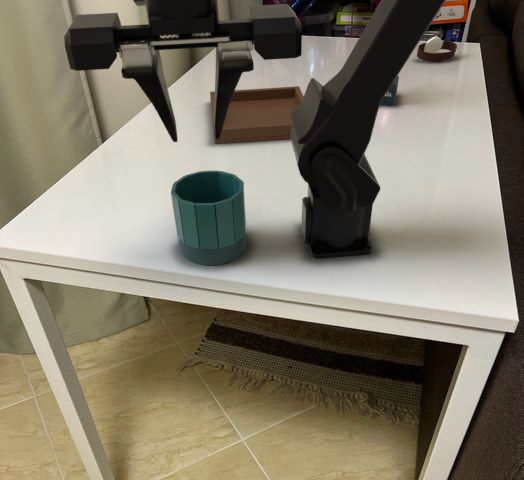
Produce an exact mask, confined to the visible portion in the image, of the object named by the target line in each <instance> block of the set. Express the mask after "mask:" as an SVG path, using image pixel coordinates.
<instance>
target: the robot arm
mask: <svg viewBox="0 0 524 480" xmlns="http://www.w3.org/2000/svg"><path fill="white" fill-rule="evenodd" d="M132 1H133V2H134V4H135V5H136V6H137V7H142V6H145V10H146V16H147V24H129V25H127V24H126V25H122V23H121V19H120V16H119V13H118V12H105V13H87V14H85V13H84V14H76V16H75V17H74V18H73V20H72V22H71V23H70V25H69V27H68V29H67V31H66V32H65V34H64V36H63V41H64V49H65V53H66V58H67V61H68V65H69V69H70V70H72V71H75V72H81V71H97V70H99V71H100V70H109V69H110V68H111V67H112V65H113V64H114V62H115V61H116V60H117V58H118V55H119V58H120V59H121V64H122V67H121V70H120V72H121V78H122V79H125V80H134V81H135V82H136V84H137V85H138V86H139V87H140V89H141V90H142V92H143V93H144V95H145V96H146V97H147V99H148V100H149V102H150V103H151V104H152V106H153V108H154V110H155V111H156V113H157V115H158V117H159V118H160V120H161V123H162V124H163V126H164V128H165V130H166V131H167V134H168V135H169V137H170V139H171V141H172V142H173V143H178V141H179V138H178V130H177V122H176V117H175V113H174V109H173V105H172V101H171V97H170V93H169V90H168V85H167V81H166V78H165V77H166V76H165V73H164V68H163V63H162V57H161V52H160V51H171V50H185V49H203V48H204V49H205V48H215V78H214V79H215V80H214V91H215V100H214V128H215V139H220V136H221V133H222V129H223V125H224V122H225V118H226V114H227V111H228V107H229V104H230V101H231V98H232V96H233V93H234V91H235V90H237V89H236V88H237V87H238V84H239V82H240V79H241V77H242V74H244V73H248V72H253V71H254V70H255V63H254V59H253V56H252V51H255V52H256V53H257V54H258V55H259V56H260V57H261V58H262V59H263V60H264V61H268V60H271V61H272V60H286V59H287V60H288V59H297V58H299V57H302V48H303V46H302V45H303V31H302V22H301V20H300V19H299V18H298V16H297V14H296V12H295V11H294V10H293V9H292V8H291V6H290V5H289V4H288V3H277V4H275V3H274V4H260V5H259V4H257V5H247V18H239V19H222V20H221V19H219V18H220V17H219V16H220V15H219V1H218V0H132ZM446 1H447V0H380V1H379V3H378V4H377V7H376V8H375V10H374V12H373V14H372V15H371V17H370V19H369V20H368V22H367V24H366V26H365V28H364V29H363V31H362V33H361V34H360V36H359V38H358V40H357V42H356V43H355V45H354V47H353V48H352V50H351V52H350V53H349V55H348V57H347V59H346V61H345V63H344V64H343V66H342V68H341V69H340V70H339V71H338V72H337V73H336V74H335V75H334V76H333V77H332V78H331V79H329V80H328V81H327V82H326V83H325V84H324V85H322V84H321V83H320V82H319V81H318V80H316V78H314V77H312V78H311V79H310V80H309V82H308V84H307V86H306V89H305V92H304V93H303V96H304V97H303V99H302V101H301V103H300V104H299V106H298V107H297V108H296V109H295V110H294V111H293V112H292V113H291V114H290V116H291V120H292V123H293V125H292V128H291V134H290V136H291V139H290V142H291V145H292V148H293V152H294V157H295V161H296V164H297V168H298V172H299V175H300V177H301V178H302V179H303V181H304V182H305V183H306V184H307V196H304V197H303V198H302V199H301V203H302V204H301V227H300V228H301V234H302V237H303V241H304V243H305V244H306V245H308V248H309V251H310V255H311V256H312V257H313V258H327V257H339V256H351V255H364V254H371V253H373V245H372V242H371V241H370V231H371V222H372V213H373V205H374V203H375V201H376V199H377V197H378V196H379V193H380V191H381V186H380V183H379V182H378V179H377V178H376V175H375V173H374V171H373V169H372V167H371V164H370V163H369V160H368V158H367V157H366V155H365V154H366V151H367V149H368V147H369V144H370V142H371V139H372V135H373V131H374V128H375V124H376V121H377V116H378V113H379V109H380V106H381V105H380V103H381V101H382V99H383V98H384V96H385V94H386V93H387V91H388V90H389V88H390V87H391V85H392V83H393V82H394V80H395V79H396V77H397V76H399V74H400V73H401V71H402V69H403V68H404V66H405V65H406V63H407V62H408V61H409V59H410V57H411V55H412V54H413V52H414V50H416V48H417V47H418V44H419V43H420V41H421V40H422V38H423V37H424V35H425V33H426V32H427V30H428V29H429V27H430V26H431V24H432V23H433V21H434V19H435V18H436V16H437V15H438V13H439V12H440V10H441V8H443V5H444V4H445V3H446ZM197 34H198V35H197ZM201 34H203V35H201ZM206 34H207V35H206ZM168 36H169V37H168Z"/></svg>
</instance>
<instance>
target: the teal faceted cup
mask: <svg viewBox="0 0 524 480" xmlns="http://www.w3.org/2000/svg"><path fill="white" fill-rule="evenodd" d="M170 196H171V202H172V209H173V210H172V211H173V215H174V222H175V227H176V235H177V237H178V242H179V248H180V253H181V255H182V257H183V258H185V259H186V260H187V261H188V262H191V263H193V264H197V265H201V266H219V265H220V266H221V265H224V264H228V263H230V262H233V261H235V260H238V259H239V257H241V256H242V255H243V254H244V253H245V251H246V249H247V220H246V204H245V203H246V202H245V200H246V199H245V183H244V181H243V179H241V178H240V177H238V175H237V174H234V173H230V172H228V171H227V172H226V171H224V170H223V171H222V170H201V171H200V170H199V171H196V172H191V173H189V174H185V175H182V176H181V177H180V178H179V179H177V180H176V181H174V182H173V183H172V187H171V189H170Z"/></svg>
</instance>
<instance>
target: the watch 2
mask: <svg viewBox="0 0 524 480" xmlns="http://www.w3.org/2000/svg"><path fill="white" fill-rule="evenodd" d="M417 47H418V48H417V50H416V51H417V52H416V57H417V58H418V59H419V60H421V61H425V62H432V63H443V62H444V61H449V60H451V59H453V58H454V57H455V54H456V51H457V48H458V44H457V43H456V42H454V41H451V40H442V39H441V38H440V37H438V35H435V36H433V37H431V38H430V39H428V40H427V41H426V42H423V43H420V44H419V45H417ZM441 50H445V51H444V52H439V51H441Z"/></svg>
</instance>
